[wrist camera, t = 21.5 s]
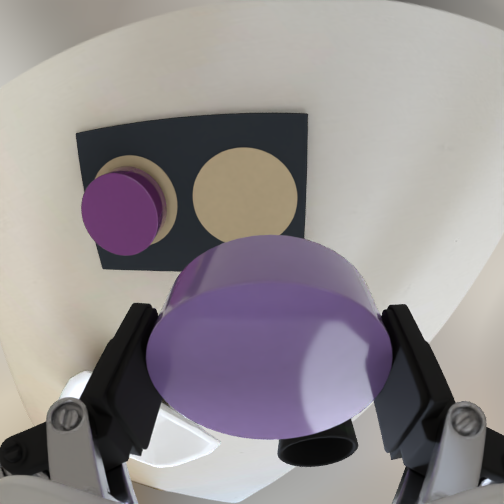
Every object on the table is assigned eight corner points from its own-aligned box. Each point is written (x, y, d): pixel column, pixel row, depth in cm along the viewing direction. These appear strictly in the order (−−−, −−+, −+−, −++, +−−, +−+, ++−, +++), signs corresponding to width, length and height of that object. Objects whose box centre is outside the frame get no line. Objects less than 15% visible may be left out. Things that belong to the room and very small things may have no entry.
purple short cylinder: (91, 168, 24) (73, 177, 21) (164, 160, 24) (151, 169, 21) (105, 240, 28) (91, 255, 25) (174, 240, 27) (164, 256, 24)
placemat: (77, 132, 23) (74, 133, 23) (307, 113, 22) (307, 113, 21) (104, 267, 30) (102, 269, 29) (301, 270, 28) (302, 273, 28)
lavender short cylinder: (155, 226, 9) (115, 278, 7) (385, 227, 9) (424, 279, 6) (187, 377, 13) (173, 433, 10) (350, 378, 12) (361, 435, 10)
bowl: (63, 390, 43) (50, 413, 38) (98, 328, 34) (79, 360, 29) (165, 447, 49) (160, 471, 44) (239, 410, 40) (236, 443, 35)
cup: (329, 332, 32) (346, 427, 21) (349, 370, 35) (365, 454, 24) (266, 355, 34) (263, 447, 23) (293, 389, 37) (296, 471, 26)
